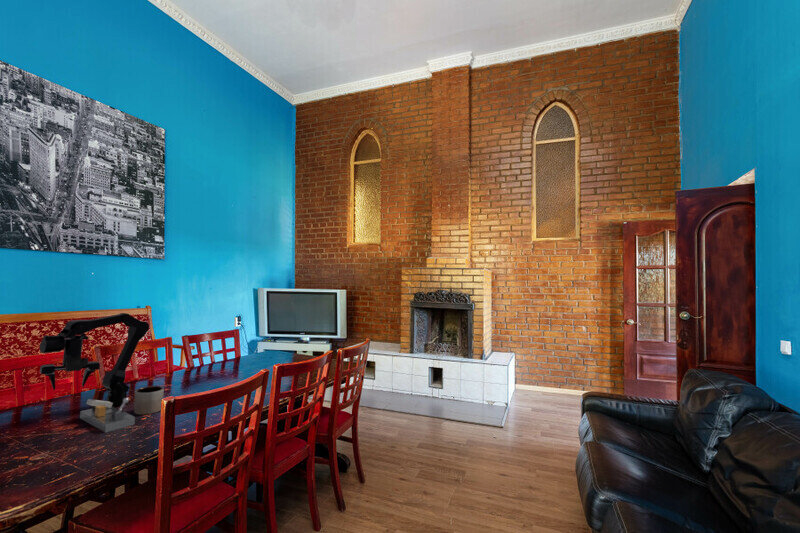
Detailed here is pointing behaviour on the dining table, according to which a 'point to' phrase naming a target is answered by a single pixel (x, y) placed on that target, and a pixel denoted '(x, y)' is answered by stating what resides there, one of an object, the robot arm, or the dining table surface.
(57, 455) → the dining table surface
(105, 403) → the rocker
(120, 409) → the toggle
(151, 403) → the planter
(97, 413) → the slider
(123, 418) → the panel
